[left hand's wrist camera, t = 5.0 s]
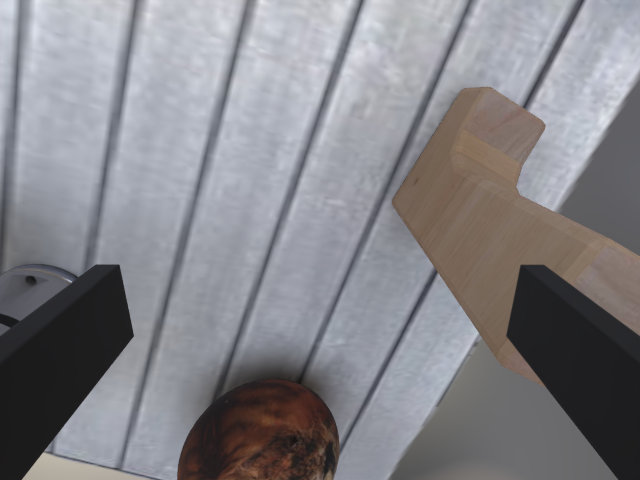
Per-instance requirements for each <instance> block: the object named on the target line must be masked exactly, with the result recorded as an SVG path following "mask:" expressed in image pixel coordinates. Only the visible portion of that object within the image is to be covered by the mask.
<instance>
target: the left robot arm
mask: <svg viewBox="0 0 640 480" xmlns="http://www.w3.org/2000/svg"><path fill="white" fill-rule="evenodd" d="M133 337H134V334H133V329H132V324H131V319H130V314H129V309H128V304H127V299H126V295H125V290H124V285H123V280H122V275H121V270H120V265H95V266H93V267H92V268H91V269H89V270H88V271H87V272H85V273H84V274H83V275H81V276H80V277H79V278H77V277H75V276H73V275H72V274H70V273H68V272H66V271H63V270H61V269H58V268H55V267H51V266H46V265H37V264H32V265H23V266H19V267H16V268H13V269H11V270H9V271H7V272H6V273H4V274H2V275H0V480H22V479H23V477H24V476H25V475H26V473H27V472H28V471H29V470H30V468H31V467H32V466H33V465H34V463H35V462H36V461H37V459H38V458H39V457H40V456H41V454H42V453H43V452H44V450H45V449H46V448H47V447H48V445H49V444H50V443H51V442H52V440H53V439H54V438H55V436H56V435H57V434H58V433H59V431H60V430H61V429H62V427H63V426H64V425H65V424H66V422H67V421H68V420H69V418H70V417H71V416H72V415H73V413H74V412H75V411H76V410H77V408H78V407H79V406H80V404H81V403H82V402H83V401H84V399H85V398H86V397H87V395H88V394H89V393H90V392H91V390H92V389H93V388H94V386H95V385H96V384H97V383H98V381H99V380H100V379H101V378H102V376H103V375H104V374H105V372H106V371H107V370H108V369H109V367H110V366H111V365H112V363H113V362H114V361H115V360H116V358H117V357H118V356H119V354H120V353H121V352H122V351H123V349H124V348H125V347H126V346H127V344H128V343H129V342H130V340H131V339H132V338H133ZM506 337H507V338H508V339H509V340H510V342H511V343H512V344H513V346H514V347H515V348H516V349H517V351H518V352H519V353H520V354H521V356H522V357H523V358H524V360H525V361H526V362H527V363H528V365H529V366H530V367H531V369H532V370H533V371H534V372H535V374H536V375H537V376H538V378H539V379H540V380H541V381H542V383H543V384H544V385H545V386H546V388H547V389H548V390H549V392H550V393H551V394H552V395H553V397H554V398H555V399H556V401H557V402H558V403H559V404H560V406H561V407H562V408H563V409H564V411H565V412H566V413H567V415H568V416H569V417H570V418H571V420H572V421H573V422H574V424H575V425H576V426H577V427H578V429H579V430H580V431H581V433H582V434H583V435H584V436H585V438H586V439H587V440H588V442H589V443H590V444H591V445H592V447H593V448H594V449H595V450H596V452H597V453H598V454H599V456H600V457H601V458H602V459H603V461H604V462H605V463H606V465H607V466H608V467H609V468H610V470H611V471H612V472H613V473H614V475H615V476H616V477H617V478H618V480H640V336H639V335H638V334H637V333H635V332H634V331H633V330H631V329H630V328H629V327H627V326H626V325H625V324H623V323H622V322H620V321H619V320H618V319H616V318H615V317H614V316H612V315H611V314H610V313H608V312H607V311H606V310H604V309H603V308H602V307H600V306H599V305H598V304H596V303H595V302H594V301H592V300H591V299H590V298H588V297H587V296H586V295H584V294H583V293H581V292H580V291H579V290H577V289H576V288H575V287H573V286H572V285H571V284H569V283H568V282H567V281H565V280H564V279H563V278H561V277H560V276H559V275H557V274H556V273H555V272H553V271H552V270H551V269H549V268H548V267H547V266H545V265H520V270H519V275H518V280H517V285H516V290H515V295H514V299H513V304H512V309H511V314H510V319H509V324H508V329H507V334H506Z"/></svg>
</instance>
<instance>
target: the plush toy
mask: <svg viewBox="0 0 640 480" xmlns="http://www.w3.org/2000/svg"><path fill="white" fill-rule="evenodd" d="M338 459H339V435H338V430H337V426H336V423H335V420H334V418H333V415H332V413H331V412H330V410H329V408H328V407H327V405H326V404H325V403H324V401H323V400H322V399H321V398H320V397H319V396H318V395H317V394H316V393H314V392H313V391H312V390H310V389H309V388H307V387H305V386H303V385H301V384H298V383H295V382H292V381H288V380H281V379H265V380H258V381H254V382H250V383H247V384H244V385H242V386H239V387H237V388H235V389H233V390H231V391H229V392H228V393H226V394H225V395H223V396H222V397H220V398H219V399H218V400H216V401H215V402H214V403H213V404H212V405H211V406H210V407H208V408H207V409H206V411H205V412H204V413H203V414H202V415H201V416H200V417H199V419H198V420H197V421H196V423H195V424H194V426H193V428H192V429H191V431H190V433H189V434H188V436H187V438H186V441H185V443H184V446H183V449H182V452H181V455H180V459H179V464H178V473H177V480H333V479H334V476H335V473H336V469H337V465H338Z"/></svg>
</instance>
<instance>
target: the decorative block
mask: <svg viewBox="0 0 640 480" xmlns="http://www.w3.org/2000/svg"><path fill="white" fill-rule="evenodd" d="M545 126H546V125H545V124H544V122H543V121H542V120H541V119H539V118H538V117H536V116H534V115H533V114H531V113H530V112H528V111H527V110H525V109H524V108H522V107H520V106H519V105H517V104H516V103H514V102H513V101H511V100H510V99H508V98H506V97H505V96H503V95H502V94H500V93H499V92H497V91H496V90H494V89H493V88H491V87H479V88H465V89H463V90H462V91H461V92H460V93H459V95H458V97H457V98H456V100H455V101H454V103H453V104H452V106H451V108H450V109H449V111H448V112H447V114H446V116H445V117H444V119H443V120H442V122H441V124H440V125H439V127H438V128H437V130H436V132H435V133H434V135H433V136H432V138H431V139H430V141H429V143H428V144H427V146H426V147H425V149H424V151H423V152H422V154H421V155H420V157H419V159H418V160H417V162H416V163H415V165H414V167H413V168H412V170H411V171H410V173H409V175H408V176H407V178H406V179H405V181H404V183H403V184H402V186H401V187H400V189H399V191H398V192H397V194H396V195H395V197H394V199H393V201H392V205H393V206H394V208H395V209H396V211H397V212H398V214H399V215H400V217H401V218H402V220H403V221H404V223H405V224H406V226H407V227H408V229H409V230H410V232H411V233H412V235H413V236H414V238H415V239H416V240H417V242H418V243H419V245H420V246H421V248H422V249H423V251H424V252H425V254H426V255H427V257H428V258H429V260H430V261H431V263H432V264H433V266H434V267H435V268H436V270H437V271H438V273H439V274H440V276H441V277H442V279H443V280H444V282H445V283H446V285H447V286H448V288H449V289H450V291H451V292H452V294H453V295H454V297H455V298H456V300H457V301H458V302H459V304H460V305H461V307H462V308H463V310H464V311H465V313H466V314H467V316H468V317H469V319H470V320H471V322H472V323H473V325H474V326H475V328H476V329H477V331H478V332H479V333H480V335H481V336H482V338H483V339H484V341H485V342H486V344H487V345H488V347H489V348H490V350H491V351H492V353H493V354H494V356H495V357H496V359H497V360H498V361H499V362H500V364H501V365H502V366H504V367H506V368H508V369H510V370H512V371H514V372H516V373H518V374H520V375H522V376H524V377H526V378H528V379H530V380H532V381H534V382H536V383H538V384H540V385H542V386H544V387H546V386H545V385H544V384H543V383H542V381H541V380H540V379H539V378H538V376H537V375H536V374H535V372H534V371H533V370H532V369H531V367H530V366H529V365H528V363H527V362H526V361H525V360H524V358H523V357H522V356H521V354H520V353H519V352H518V351H517V349H516V348H515V347H514V346H513V344H512V343H511V342H510V340H509V339H508V338H507V337H506V334H507V329H508V324H509V319H510V314H511V309H512V304H513V299H514V295H515V290H516V285H517V280H518V275H519V270H520V265H545V266H547V267H548V268H549V269H551V270H552V271H553V272H555V273H556V274H557V275H559V276H560V277H561V278H563V279H564V280H565V281H567V282H568V283H569V284H571V285H572V286H573V287H575V288H576V289H577V290H579V291H580V292H581V293H583V294H584V295H586V296H587V297H588V298H590V299H591V300H592V301H594V302H595V303H596V304H598V305H599V306H600V307H602V308H603V309H604V310H606V311H607V312H608V313H610V314H611V315H612V316H614V317H615V318H616V319H618V320H619V321H620V322H622V323H623V324H625V325H626V326H627V327H629V328H630V329H631V330H633V331H634V332H635V333H637V334H638V335H639V336H640V257H639V256H638V255H636V254H635V253H633V252H631V251H630V250H628V249H626V248H624V247H623V246H621V245H619V244H618V243H616V242H614V241H613V240H611V239H609V238H607V237H605V236H603V235H601V234H599V233H597V232H595V231H593V230H590V229H588V228H586V227H584V226H582V225H580V224H578V223H576V222H574V221H572V220H570V219H568V218H566V217H564V216H562V215H560V214H558V213H556V212H553V211H551V210H549V209H547V208H545V207H543V206H541V205H539V204H537V203H535V202H533V201H531V200H529V199H527V198H525V197H523V196H521V195H520V194H519V192H518V190H517V188H516V185H517V182H518V178H519V175H520V172H521V169H522V166H523V164H524V162H525V161H526V159H527V157H528V156H529V154H530V153H531V151H532V149H533V148H534V146H535V144H536V143H537V141H538V140H539V138H540V136H541V135H542V133H543V131H544V130H545Z"/></svg>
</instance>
